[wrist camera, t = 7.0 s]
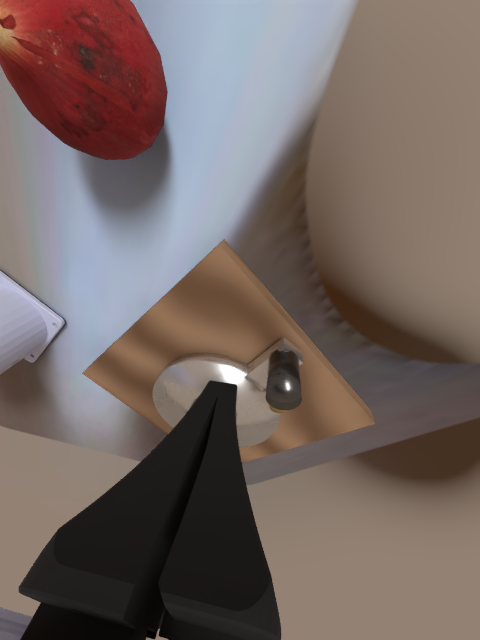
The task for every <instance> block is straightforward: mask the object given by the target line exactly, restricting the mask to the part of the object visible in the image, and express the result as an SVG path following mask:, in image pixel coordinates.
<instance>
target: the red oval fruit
mask: <svg viewBox="0 0 480 640" xmlns="http://www.w3.org/2000/svg"><path fill="white" fill-rule="evenodd" d="M0 64H1V67H2V69H3V71H4V73H5V75H6V77H7V79H8V80H9V82H10V83H11V85H12V87H13V88H14V90H15V91H16V93H17V94H18V96H19V97H20V99H21V100H22V102H23V104H24V105H25V106H26V108H27V109H28V110H29V112H30V113H31V114H32V115H33V116H34V117H35V118H36V119H37V120H38V121H39V122H40V123H41V124H43V125H44V126H45V127H46V128H47V129H48V130H49V131H51V132H52V133H53V134H54V135H55V136H56V137H57V138H59V139H60V140H61V141H62V142H63V143H65V144H67V145H68V146H70V147H72V148H74V149H76V150H79V151H81V152H84V153H87V154H89V155H92V156H94V157H98V158H101V159H105V160H120V159H129V158H133V157H135V156H137V155H138V154H140V153H142V152H143V151H145V150H146V149H148V148H149V147H151V145H152V144H153V142H154V140H155V139H156V137H157V135H158V133H159V132H160V130H161V128H162V127H163V125H164V117H165V108H166V100H167V87H166V82H165V77H164V72H163V67H162V62H161V56H160V53H159V51H158V50H157V48H156V46H155V44H154V42H153V40H152V38H151V36H150V34H149V32H148V31H147V29H146V27H145V25H144V23H143V21H142V19H141V17H140V15H139V14H138V12H137V10H136V8H135V6H134V4H133V3H132V2H131V1H130V0H0Z"/></svg>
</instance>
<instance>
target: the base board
mask: <svg viewBox="0 0 480 640" xmlns="http://www.w3.org/2000/svg"><path fill="white" fill-rule="evenodd" d="M283 337H284V338H285V339H287V340H288V341H289V342H290V343H291V344H293V345H294V346H295V347H296V348H298V349H299V350H300V351H301V352H302V353H303V364H301V365H300V366H299V369H300V382H301V395H302V402H301V404H300V405H299V406H298V407H297V408H295V409H292V410H279V409H276V408H273V407H272V406H270V405H269V408H270V410H271V411H273V412H275V413H280V415H279V424H278V427H277V429H276V430H275V432H274V433H273V434H272V436H270V437H269V438H268V439H267V440H265V441H263V442H261V443H259V444H257V445H253V446H250V447H244V448H239V450H240V456H241V462H242V463H243V462H246V461H250V460H253V459H257V458H260V457H263V456H267V455H270V454H274V453H277V452H281V451H284V450H287V449H291V448H294V447H298V446H301V445H304V444H308V443H311V442H315V441H318V440H321V439H325V438H328V437H332V436H335V435H338V434H342V433H345V432H349V431H352V430H356V429H359V428H362V427H366V426H369V425H373V424H375V421H374V419H373V416H372V413H371V410H370V409H369V408H368V407H367V405H366V404H365V403H364V402H363V401H362V400H361V398H360V397H359V396H358V395H357V394H356V393H355V391H354V390H353V389H352V388H351V387H350V386H349V384H348V383H347V382H346V381H345V380H344V379H343V377H342V376H341V375H340V374H339V373H338V372H337V370H336V369H335V368H334V367H333V366H332V365H331V363H330V362H329V361H328V360H327V359H326V358H325V356H324V355H323V354H322V353H321V352H320V351H319V349H318V348H317V347H316V346H315V345H314V344H313V342H312V341H311V340H310V339H309V338H308V337H307V335H306V334H305V333H304V332H303V331H302V330H301V328H300V327H299V326H298V325H297V324H296V323H295V321H294V320H293V319H292V318H291V317H290V316H289V314H288V313H287V312H286V311H285V310H284V309H283V307H282V306H281V305H280V304H279V303H278V302H277V300H276V299H275V298H274V297H273V296H272V295H271V293H270V292H269V291H268V290H267V289H266V288H265V286H264V285H263V284H262V283H261V282H260V281H259V279H258V278H257V277H256V276H255V275H254V274H253V272H252V271H251V270H250V269H249V268H248V267H247V265H246V264H245V263H244V262H243V261H242V260H241V258H240V257H239V256H238V255H237V254H236V253H235V251H234V250H233V249H232V248H231V247H230V246H229V244H228V243H227V242H226V241H225V240H223V241H222V242H221V243H220V244H219V245H218V246H216V247H215V248H214V249H213V250H212V251H211V252H210V253H209V254H208V255H207V256H206V257H205V258H204V259H203V260H202V261H201V262H199V263H198V264H197V265H196V266H195V267H194V268H193V269H192V270H191V271H190V272H189V273H188V274H187V275H186V276H185V277H184V278H182V279H181V280H180V281H179V282H178V283H177V284H176V285H175V286H174V287H173V288H172V289H171V290H170V291H169V292H168V293H167V294H165V295H164V296H163V297H162V298H161V299H160V300H159V301H158V302H157V303H156V304H155V305H154V306H153V307H152V308H151V309H150V310H148V311H147V312H146V313H145V314H144V315H143V316H142V317H141V318H140V319H139V320H138V321H137V322H136V323H135V324H134V325H132V326H131V327H130V328H129V329H128V330H127V331H126V332H125V333H124V334H123V335H122V336H121V337H120V338H119V339H118V340H117V341H115V342H114V343H113V344H112V345H111V346H110V347H109V348H108V349H107V350H106V351H105V352H104V353H103V354H102V355H101V356H100V357H98V358H97V359H96V360H95V361H94V362H93V363H92V364H91V365H90V366H89V367H88V368H87V369H86V370H85V371H84V372H83V373H82V374H84V375H85V376H87V377H88V378H89V379H91V380H92V381H94V382H95V383H96V384H98V385H99V386H101V387H102V388H103V389H105V390H106V391H108V392H109V393H111V394H112V395H113V396H115V397H116V398H118V399H119V400H120V401H122V402H123V403H125V404H126V405H127V406H129V407H130V408H132V409H133V410H134V411H136V412H137V413H139V414H140V415H142V416H143V417H144V418H146V419H147V420H149V421H150V422H151V423H153V424H154V425H156V426H157V427H158V428H160V429H161V430H163V431H164V432H166V433H167V434H169V433H170V432H171V431H172V429H173V428H172V427H171V426H170V425H169V424H168V423H167V422H166V421H165V420H164V419H163V418H162V417H161V415H160V414H159V413H158V411H157V409H156V407H155V405H154V402H153V387H154V384H155V382H156V380H157V379H158V377H159V375H160V374H161V372H162V371H163V369H164V368H165V367H166V366H167V365H168V364H169V363H170V362H172V361H174V360H175V359H177V358H180V357H182V356H186V355H190V354H197V353H211V354H219V355H224V356H228V357H231V358H235V359H237V360H240V361H242V362H244V363H246V364H248V365H249V364H250V363H251V362H253V361H254V360H255V359H256V358H258V357H259V356H260V355H261V354H263V353H264V352H265V351H267V350H268V349H269V348H270V347H272V346H273V345H274V344H276V343H277V342H278V341H279V340H281V339H282V338H283Z"/></svg>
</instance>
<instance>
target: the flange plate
mask: <svg viewBox="0 0 480 640" xmlns="http://www.w3.org/2000/svg"><path fill="white" fill-rule="evenodd" d="M301 364H303V353H302V352H301V351H300V350H299V349H298V348H296V347H295V346H294V345H293V344H291V343H290V342H289V341H288V340H287V339H285V338H284V337H283V338H282V339H281V340H279V341H278V342H277V343H276V344H274V345H273V346H272V347H270V348H269V349H268V350H267V351H265V352H264V353H263V354H261V355H260V356H259V357H258V358H256V359H255V360H254V361H253V362H251V363H250V364H249V365H248V364H246V363H244V362H242V361H240V360H237V359H235V358H231V357H228V356H224V355H219V354H211V353H197V354H190V355H186V356H182V357H180V358H177V359H175V360H174V361H172V362H170V363H169V364H168V365H167V366H166V367H165V368H164V369H163V371H162V372H161V374H160V375H159V377H158V379H157V380H156V382H155V384H154V387H153V402H154V405H155V407H156V409H157V411H158V413H159V414H160V415H161V417H162V418H163V419H164V420H165V421H166V422H167V423H168V424H169V425H170V426H171V427H172V428H174V427H175V426H176V425H177V424H178V422H179V421H180V420H181V419H182V418H183V417H184V415H185V414H186V413H187V411H188V410H189V409H190V408H191V406H192V405H193V404H194V402H195V401H196V400H197V398H198V397H199V395H200V394H201V393H202V391H203V390H204V388H205V386H206V385H207V383H208V382H209V381H210V380H212V381H219V382H225V383H231V384H236V385H237V401H236V425H237V436H238V443H239V448H244V447H250V446H253V445H257V444H259V443H261V442H263V441H265V440H267V439H268V438H269V437H270V436H272V434H273V433H274V432H275V430H276V429H277V427H278V424H279V415H280V413H275V412H273V411H271V410H270V408H269V405H270V406H272V407H273V408H276V409H279V410H292V409H295V408H297V407H298V406H299V405H300V404H301V402H302V395H301V382H300V369H299V366H300V365H301Z"/></svg>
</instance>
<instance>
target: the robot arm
mask: <svg viewBox="0 0 480 640" xmlns="http://www.w3.org/2000/svg"><path fill="white" fill-rule="evenodd" d="M64 324H65V321H64V319H62V318H61V317H60V316H59V315H57V314H56V313H55V312H53V311H52V310H51V309H50V308H48V307H47V306H46V305H44V304H43V303H42V302H40V301H39V300H38V299H37V298H35V297H34V296H33V295H31V294H30V293H29V292H27V291H26V290H25V289H24V288H22V287H21V286H20V285H18V284H17V283H16V282H14V281H13V280H12V279H11V278H9V277H8V276H7V275H5V274H4V273H3V272H1V271H0V374H2V373H3V372H5V371H6V370H7V369H9V368H10V367H12V366H13V365H14V364H16V363H17V362H19V361H20V360H22V359H23V358H24V359H25V360H27V361H28V362H31V363H33V362H35V361H36V360H37V359H38V357H39V356H40V355H41V354H42V352H43V351H44V350H45V348H46V347H47V346H48V345H49V343H50V342H51V341H52V340H53V338H54V337H55V336H56V334H57V333H58V332H59V331H60V329H61V328H62V327H63V325H64ZM236 401H237V385H236V384H231V383H225V382H219V381H212V380H210V381H209V382H208V383H207V385H206V386H205V388H204V390H203V391H202V393H201V394H200V395H199V397H198V398H197V400H196V401H195V402H194V404H193V405H192V406H191V408H190V409H189V410H188V411H187V413H186V414H185V415H184V417H183V418H182V419H181V420H180V421H179V422H178V424H177V425H176V426H175V427H174V428H173V429H172V431H171V432H170V433H169V434H168V435H167V436H166V437H165V438H164V439H163V440H162V442H161V443H160V444H159V445H158V446H157V447H156V448H155V449H154V450H153V451H152V452H151V453H150V454H149V455H148V456H147V457H146V458H145V459H143V460H142V461H141V462H140V463H139V464H138V465H137V466H136V467H135V468H134V469H133V470H132V471H131V472H129V473H128V474H127V475H126V476H125V477H124V478H123V479H121V480H120V481H119V482H118V483H117V484H115V485H114V486H113V487H112V488H111V489H109V490H108V491H107V492H106V493H105V494H103V495H102V496H101V497H100V498H98V499H97V500H96V501H95V502H94V503H92V504H91V505H89V506H88V507H87V508H85V509H84V510H83V511H81V512H80V513H79V514H78V515H77V516H75V517H74V518H72V519H71V520H70V521H68V522H67V523H66V524H64V525H63V526H62V527H60V528H59V529H58V530H57V532H56V533H55V534H54V536H53V537H52V538H51V540H50V541H49V542H48V544H47V545H46V546H45V548H44V549H43V550H42V552H41V553H40V555H39V557H38V558H37V560H36V561H35V563H34V564H33V566H32V567H31V569H30V571H29V572H28V574H27V575H26V577H25V578H24V580H23V582H22V583H21V585H20V586H19V593H21V594H23V595H25V596H27V597H30V598H32V599H34V600H37V601H39V602H41V604H40V606H39V607H38V609H37V611H36V613H35V614H34V616H33V617H31V616H27V615H24V614H20V613H17V612H14V611H11V610H7V609H3V608H0V640H146V637H148V638H151V639H155V638H156V634H157V631H158V629H159V628H160V631H159V636H160V637H164V638H167V639H169V640H281V625H280V618H279V612H278V607H277V602H276V597H275V593H274V588H273V583H272V578H271V574H270V571H269V567H268V564H267V561H266V558H265V554H264V551H263V548H262V544H261V541H260V538H259V534H258V530H257V527H256V523H255V519H254V515H253V511H252V507H251V503H250V499H249V495H248V492H247V487H246V482H245V477H244V473H243V467H242V462H241V456H240V450H239V443H238V436H237V425H236Z"/></svg>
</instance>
